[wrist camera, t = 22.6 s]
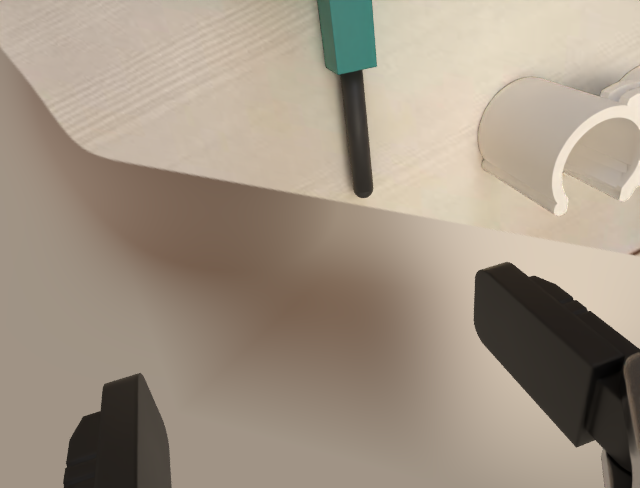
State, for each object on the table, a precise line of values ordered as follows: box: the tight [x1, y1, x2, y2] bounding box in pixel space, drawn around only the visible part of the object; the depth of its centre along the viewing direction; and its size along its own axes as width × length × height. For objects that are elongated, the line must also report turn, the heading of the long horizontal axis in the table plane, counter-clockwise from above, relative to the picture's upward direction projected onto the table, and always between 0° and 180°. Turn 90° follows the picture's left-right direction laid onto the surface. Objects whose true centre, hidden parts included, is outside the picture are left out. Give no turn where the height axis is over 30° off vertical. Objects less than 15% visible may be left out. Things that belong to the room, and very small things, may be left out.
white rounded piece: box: [478, 66, 640, 216], centre depth 51 cm, size 25×10×12 cm, turn 95°
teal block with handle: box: [317, 0, 377, 198], centre depth 46 cm, size 22×4×4 cm, turn 8°
